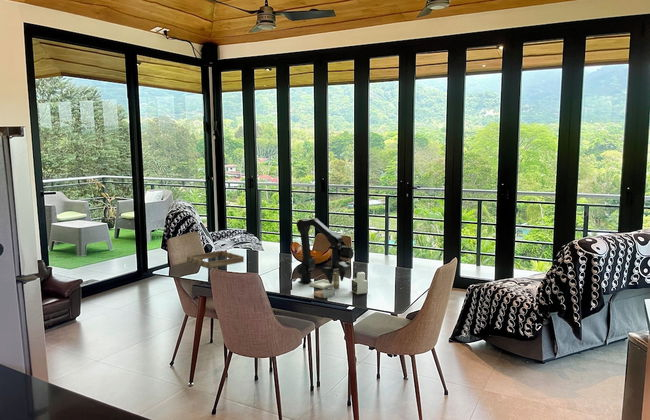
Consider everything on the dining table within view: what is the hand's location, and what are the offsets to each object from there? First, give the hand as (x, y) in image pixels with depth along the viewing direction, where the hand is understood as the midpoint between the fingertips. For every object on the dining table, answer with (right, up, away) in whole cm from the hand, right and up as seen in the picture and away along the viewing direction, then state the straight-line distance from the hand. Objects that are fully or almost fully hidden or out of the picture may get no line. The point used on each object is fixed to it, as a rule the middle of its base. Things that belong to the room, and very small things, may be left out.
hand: (336, 282), depth 296 cm
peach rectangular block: (-8, -6, -14) cm, 17 cm away
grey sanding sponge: (-4, -6, -16) cm, 18 cm away
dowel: (0, -3, 0) cm, 4 cm away
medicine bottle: (+13, -5, -8) cm, 16 cm away
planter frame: (-87, +5, +69) cm, 111 cm away
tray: (-8, -3, +5) cm, 10 cm away
